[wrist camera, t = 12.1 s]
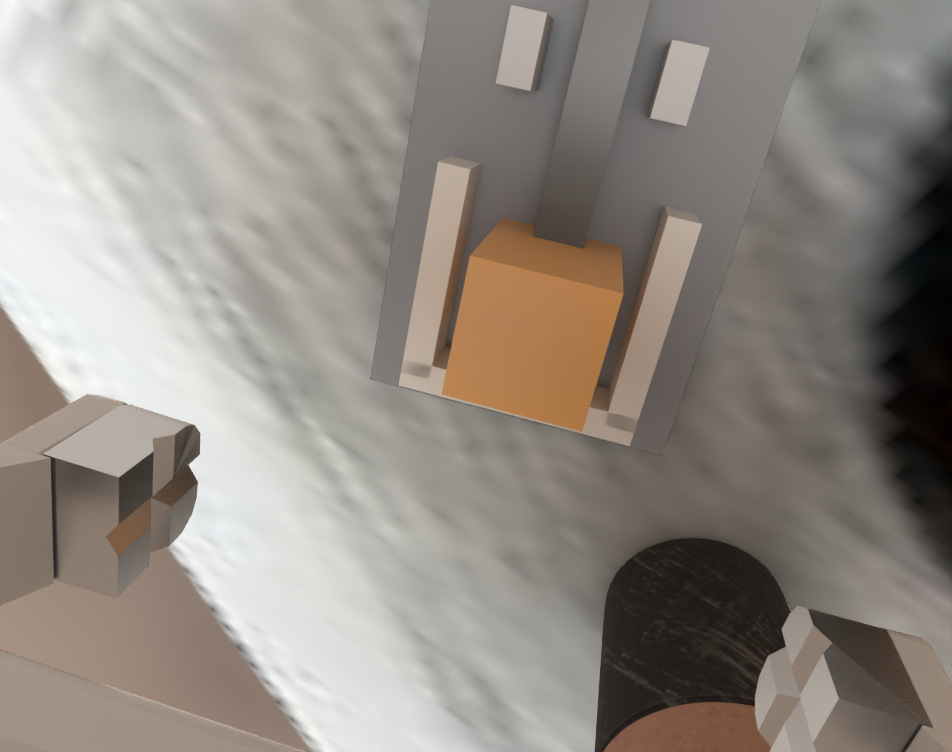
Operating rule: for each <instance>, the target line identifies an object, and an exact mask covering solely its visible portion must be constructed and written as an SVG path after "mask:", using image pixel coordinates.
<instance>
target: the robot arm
mask: <svg viewBox="0 0 952 752" xmlns="http://www.w3.org/2000/svg"><path fill="white" fill-rule="evenodd" d="M199 455H200V432H199V431H198V429H197V428H196V426H195V425H193V424H190V423H186V422H183V421H180V420H177V419H174V418H171V417H168V416H165V415H161V414H158V413H155V412H152V411H149V410H146V409H143V408H140V407H136V406H133V405H128V404H126V403H124V402H121V401H117V400H114V399H110V398H107V397H104V396H100V395H89V394H87V395H85V396H83V397H81V398H80V399H78V400H76V401H74V402H73V403H71V404H69V405H68V406H66V407H64V408H62V409H60V410H59V411H57V412H55V413H54V414H51V415H50V416H48V417H46V418H45V419H43V420H41V421H39V422H37V423H36V424H34V425H32V426H30V427H29V428H27V429H25V430H23V431H22V432H20V433H18V434H16V435H14V436H13V437H11V438H9V439H7V440H6V441H4V442H2V443H1V442H0V606H1V605H3V604H5V603H8V602H10V601H13V600H15V599H18V598H20V597H22V596H25V595H27V594H29V593H32V592H34V591H37V590H39V589H42V588H44V587H46V586H49V585H51V584H53V583H54V580H56V581H60V582H63V583H67V584H70V585H74V586H77V587H80V588H84V589H87V590H91V591H94V592H98V593H101V594H104V595H108V596H111V597H115V598H118V597H119V596H120V595H121V594H122V593H123V592H124V591H125V590H126V589H127V587H129V586H130V585H131V584H132V583H133V582H134V581H135V580H136V579H137V577H139V576H140V575H141V574H142V573H143V572H144V571H145V570H146V569H147V568H148V567H149V559H150V552H152V551H155V550H158V549H161V548H164V547H167V546H170V545H171V544H172V542H173V541H174V540H175V539H176V538H177V537H178V536H179V535H180V534H181V533H182V531H183V529H184V528H185V526H186V524H187V522H188V520H189V518H190V517H191V515H192V512H193V508H194V505H195V501H196V497H197V485H198V482H197V480H196V478H195V476H194V474H193V473H192V471H191V469H190V467H189V464H190V463H191V462H192V461H193V460H194V459H195V458H196V457H197V456H199ZM782 633H783V637H784V640H785V644H786V647H784V648H782V649H780V650H778V651H776V652H775V653H773V654H771V655H769V656H768V657H767V660H766V662H765V664H764V666H763V668H762V671H761V673H760V675H759V679H758V684H757V689H756V694H755V717H756V722H757V728H758V732H759V733H760V734H761V735H762V736H763V738H764V739H765V740H766V741H767V743H768V744H769V745H770V746H771V747H772V748H771V750H770V752H952V684H951V682H950V680H949V678H948V676H947V674H946V672H945V671H944V669H943V667H942V665H941V663H940V661H939V660H938V658H937V656H936V654H935V652H934V650H933V649H932V647H931V646H930V645H929V644H928V643H927V642H925V641H924V640H923V639H922V638H918V637H915V636H911V635H907V634H903V633H899V632H895V631H892V630H888V629H884V628H878V627H874V626H871V625H867V624H863V623H860V622H856V621H853V620H849V619H845V618H842V617H838V616H835V615H831V614H827V613H824V612H820V611H816V610H813V609H809V608H806V607H802V606H797V607H796V608H795V609H794V610H793V611H792V612H791V613H790V614H789V616H788V618H787V620H786V622H785V624H784V626H783V627H782ZM0 752H305V751H302V750H299V749H296V748H293V747H290V746H287V745H284V744H280V743H278V742H275V741H272V740H269V739H266V738H263V737H260V736H256V735H254V734H251V733H248V732H245V731H242V730H239V729H236V728H233V727H230V726H227V725H224V724H221V723H218V722H215V721H212V720H209V719H206V718H203V717H200V716H197V715H194V714H191V713H188V712H186V711H182V710H179V709H177V708H174V707H170V706H167V705H164V704H162V703H159V702H156V701H153V700H149V699H147V698H144V697H141V696H138V695H135V694H132V693H129V692H126V691H123V690H120V689H117V688H114V687H111V686H108V685H105V684H102V683H99V682H96V681H93V680H90V679H87V678H84V677H81V676H79V675H76V674H72V673H69V672H66V671H63V670H61V669H58V668H55V667H52V666H49V665H46V664H43V663H40V662H37V661H34V660H31V659H28V658H25V657H22V656H19V655H16V654H13V653H10V652H7V651H4V650H1V649H0Z"/></svg>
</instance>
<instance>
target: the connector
mask: <svg viewBox="0 0 952 752" xmlns="http://www.w3.org/2000/svg"><path fill="white" fill-rule="evenodd" d="M649 4H650V0H589V3H588V7H587V12H586V16H585V20H584V24H583V28H582V32H581V37H580V41H579V45H578V49H577V53H576V57H575V62H574V66H573V70H572V74H571V78H570V82H569V87H568V91H567V95H566V99H565V103H564V107H563V112H562V116H561V120H560V124H559V128H558V132H557V137H556V141H555V145H554V149H553V153H552V157H551V162H550V166H549V170H548V174H547V178H546V182H545V187H544V191H543V195H542V199H541V203H540V207H539V212H538V216H537V220H536V224H535V225H531V224H527V223H523V222H519V221H515V220H511V219H507V218H502V219H501V220H500V222H499V223H498V224H497V225H496V226H495V227H494V229H493V230H492V231H491V232H490V233H489V234H488V235H487V237H486V238H485V239H484V240H483V241H482V242H481V244H480V245H479V246H478V247H477V248H476V249H475V250H474V252H473V253H472V254H471V255H470V259H469V264H468V268H467V273H466V278H465V283H464V288H463V292H462V297H461V302H460V307H459V312H458V316H457V321H456V326H455V331H454V336H453V341H452V345H451V350H450V355H449V360H448V365H447V369H446V374H445V379H444V384H443V389H442V393H441V394H442V395H445V396H449V397H453V398H457V399H460V400H464V401H468V402H472V403H475V404H479V405H483V406H487V407H490V408H494V409H498V410H502V411H505V412H509V413H513V414H517V415H520V416H524V417H528V418H532V419H535V420H539V421H543V422H547V423H550V424H554V425H558V426H562V427H565V428H569V429H573V430H577V431H580V432H582V431H583V428H584V424H585V421H586V418H587V414H588V411H589V408H590V404H591V401H592V398H593V394H594V391H595V387H596V384H597V381H598V377H599V374H600V371H601V367H602V364H603V361H604V357H605V354H606V351H607V347H608V344H609V341H610V337H611V334H612V331H613V327H614V324H615V321H616V317H617V314H618V311H619V307H620V304H621V301H622V297H623V294H624V292H623V270H622V248H621V246H617V245H613V244H609V243H605V242H601V241H597V240H593V239H589V238H586V237H587V234H588V230H589V226H590V223H591V219H592V215H593V211H594V208H595V204H596V200H597V197H598V193H599V189H600V185H601V182H602V178H603V174H604V171H605V167H606V163H607V160H608V156H609V152H610V148H611V145H612V141H613V137H614V134H615V130H616V126H617V122H618V119H619V115H620V111H621V108H622V104H623V100H624V97H625V93H626V89H627V85H628V82H629V78H630V74H631V71H632V67H633V63H634V59H635V56H636V52H637V48H638V45H639V41H640V37H641V34H642V30H643V26H644V22H645V19H646V15H647V11H648V8H649Z"/></svg>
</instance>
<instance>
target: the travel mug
mask: <svg viewBox="0 0 952 752" xmlns="http://www.w3.org/2000/svg"><path fill="white" fill-rule="evenodd" d="M790 613H791V612H790V610H789V608H788V605H787V603H786V600H785V598H784V595H783V593H782V591H781V589H780V587H779V585H778V584H777V582H776V580H775V579H774V577H773V576H772V575H771V574H770V572H769V571H768V570H767V569H766V568H765V567H764V566H763V565H762V564H761V563H760V562H759V561H757V560H756V559H754V558H753V557H752V556H750V555H749V554H747V553H745V552H743V551H742V550H740V549H738V548H735V547H733V546H730V545H728V544H724V543H720V542H717V541H711V540H705V539H680V540H673V541H668V542H664V543H661V544H657V545H655V546H652V547H650V548H648V549H646V550H644V551H642V552H640V553H639V554H637V555H636V556H634V557H633V558H632V559H630V560H629V561H628V562H627V563H626V564H625V565H624V566H623V567H622V568H621V569H620V571H619V572H618V573H617V575H616V576H615V578H614V580H613V582H612V583H611V585H610V588H609V591H608V594H607V599H606V604H605V612H604V623H603V636H602V651H601V666H600V681H599V696H598V711H597V725H596V740H595V752H770V750H771V748H772V747H771V746H770V745H769V744H768V743H767V741H766V740H765V739H764V738H763V736H762V735H761V734H760V733H759V732H758V728H757V722H756V717H755V694H756V689H757V684H758V679H759V675H760V673H761V671H762V668H763V666H764V664H765V662H766V660H767V657H768V656H769V655H771V654H773V653H775V652H776V651H778V650H780V649H782V648H784V647H786V644H785V640H784V637H783V633H782V627H783V626H784V624H785V622H786V620H787V618H788V616H789V614H790Z"/></svg>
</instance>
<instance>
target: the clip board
mask: <svg viewBox="0 0 952 752" xmlns="http://www.w3.org/2000/svg"><path fill="white" fill-rule="evenodd" d="M820 1H821V0H650V4H649V8H648V11H647V15H646V19H645V22H644V26H643V30H642V34H641V37H640V41H639V45H638V48H637V52H636V56H635V59H634V63H633V67H632V71H631V74H630V78H629V82H628V85H627V89H626V93H625V97H624V100H623V104H622V108H621V111H620V115H619V119H618V122H617V126H616V130H615V134H614V137H613V141H612V145H611V148H610V152H609V156H608V160H607V163H606V167H605V171H604V174H603V178H602V182H601V185H600V189H599V193H598V197H597V200H596V204H595V208H594V211H593V215H592V219H591V223H590V226H589V230H588V234H587V237H586V238H589V239H593V240H597V241H601V242H605V243H609V244H613V245H617V246H621V248H622V270H623V292H624V294H623V297H622V301H621V304H620V307H619V311H618V314H617V317H616V321H615V324H614V327H613V331H612V334H611V337H610V341H609V344H608V347H607V351H606V354H605V357H604V361H603V364H602V367H601V371H600V374H599V377H598V381H597V384H596V387H595V391H594V394H593V398H592V401H591V404H590V408H589V411H588V414H587V418H586V421H585V424H584V428H583V431H582V432H580V431H577V430H573V429H569V428H565V427H562V426H558V425H554V424H550V423H547V422H543V421H539V420H535V419H532V418H528V417H524V416H520V415H517V414H513V413H509V412H505V411H502V410H498V409H494V408H490V407H487V406H483V405H479V404H475V403H472V402H468V401H464V400H460V399H457V398H453V397H449V396H445V395H442V394H441V393H442V389H443V384H444V379H445V374H446V369H447V365H448V360H449V355H450V350H451V345H452V341H453V336H454V331H455V326H456V321H457V316H458V312H459V307H460V302H461V297H462V292H463V288H464V283H465V278H466V273H467V268H468V264H469V259H470V255H471V254H472V253H473V252H474V250H475V249H476V248H477V247H478V246H479V245H480V244H481V242H482V241H483V240H484V239H485V238H486V237H487V235H488V234H489V233H490V232H491V231H492V230H493V229H494V227H495V226H496V225H497V224H498V223H499V222H500V220H501V219H502V218H507V219H511V220H515V221H519V222H523V223H527V224H531V225H535V224H536V220H537V216H538V212H539V207H540V203H541V199H542V195H543V191H544V187H545V182H546V178H547V174H548V170H549V166H550V162H551V157H552V153H553V149H554V145H555V141H556V137H557V132H558V128H559V124H560V120H561V116H562V112H563V107H564V103H565V99H566V95H567V91H568V87H569V82H570V78H571V74H572V70H573V66H574V62H575V57H576V53H577V49H578V45H579V41H580V37H581V32H582V28H583V24H584V20H585V16H586V12H587V7H588V3H589V0H431V2H430V9H429V15H428V21H427V27H426V34H425V40H424V46H423V52H422V59H421V65H420V71H419V77H418V84H417V90H416V96H415V102H414V109H413V115H412V121H411V127H410V134H409V140H408V146H407V152H406V159H405V165H404V171H403V178H402V184H401V190H400V196H399V203H398V209H397V215H396V221H395V228H394V234H393V240H392V246H391V253H390V259H389V265H388V271H387V278H386V284H385V290H384V296H383V303H382V309H381V315H380V321H379V328H378V334H377V340H376V346H375V353H374V359H373V365H372V372H371V378H370V379H371V380H375V381H379V382H383V383H387V384H390V385H394V386H398V387H402V388H405V389H409V390H413V391H417V392H421V393H424V394H428V395H432V396H436V397H440V398H443V399H447V400H451V401H455V402H459V403H462V404H466V405H470V406H474V407H478V408H481V409H485V410H489V411H493V412H496V413H500V414H504V415H508V416H512V417H515V418H519V419H523V420H527V421H531V422H534V423H538V424H542V425H546V426H550V427H553V428H557V429H561V430H565V431H569V432H572V433H576V434H580V435H584V436H587V437H591V438H595V439H599V440H603V441H606V442H610V443H614V444H618V445H622V446H625V447H629V448H633V449H637V450H641V451H644V452H648V453H652V454H656V455H660V456H662V454H663V451H664V448H665V445H666V442H667V439H668V437H669V434H670V431H671V428H672V425H673V422H674V419H675V417H676V414H677V411H678V408H679V405H680V402H681V399H682V397H683V394H684V391H685V388H686V385H687V382H688V379H689V376H690V374H691V371H692V368H693V365H694V362H695V359H696V356H697V354H698V351H699V348H700V345H701V342H702V339H703V336H704V334H705V331H706V328H707V325H708V322H709V319H710V316H711V313H712V311H713V308H714V305H715V302H716V299H717V296H718V293H719V291H720V288H721V285H722V282H723V279H724V276H725V273H726V271H727V268H728V265H729V262H730V259H731V256H732V253H733V250H734V248H735V245H736V242H737V239H738V236H739V233H740V230H741V228H742V225H743V222H744V219H745V216H746V213H747V210H748V208H749V205H750V202H751V199H752V196H753V193H754V190H755V187H756V185H757V182H758V179H759V176H760V173H761V170H762V167H763V165H764V162H765V159H766V156H767V153H768V150H769V147H770V145H771V142H772V139H773V136H774V133H775V130H776V127H777V124H778V122H779V119H780V116H781V113H782V110H783V107H784V104H785V102H786V99H787V96H788V93H789V90H790V87H791V84H792V82H793V79H794V76H795V73H796V70H797V67H798V64H799V61H800V59H801V56H802V53H803V50H804V47H805V44H806V41H807V39H808V36H809V33H810V30H811V27H812V24H813V21H814V19H815V16H816V13H817V10H818V7H819V4H820Z"/></svg>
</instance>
